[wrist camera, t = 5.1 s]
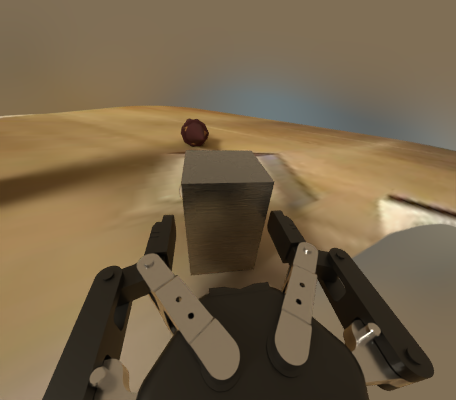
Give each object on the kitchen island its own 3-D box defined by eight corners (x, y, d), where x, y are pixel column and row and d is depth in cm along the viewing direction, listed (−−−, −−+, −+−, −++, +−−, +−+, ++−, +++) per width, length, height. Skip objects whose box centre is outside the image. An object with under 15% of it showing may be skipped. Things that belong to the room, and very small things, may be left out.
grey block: (190, 275, 17) (181, 183, 11) (192, 229, 22) (185, 150, 16) (253, 269, 18) (274, 181, 12) (240, 226, 23) (251, 150, 17)
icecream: (221, 126, 41) (201, 119, 53) (190, 118, 37) (176, 112, 49) (214, 155, 44) (197, 143, 56) (185, 150, 40) (173, 138, 52)
